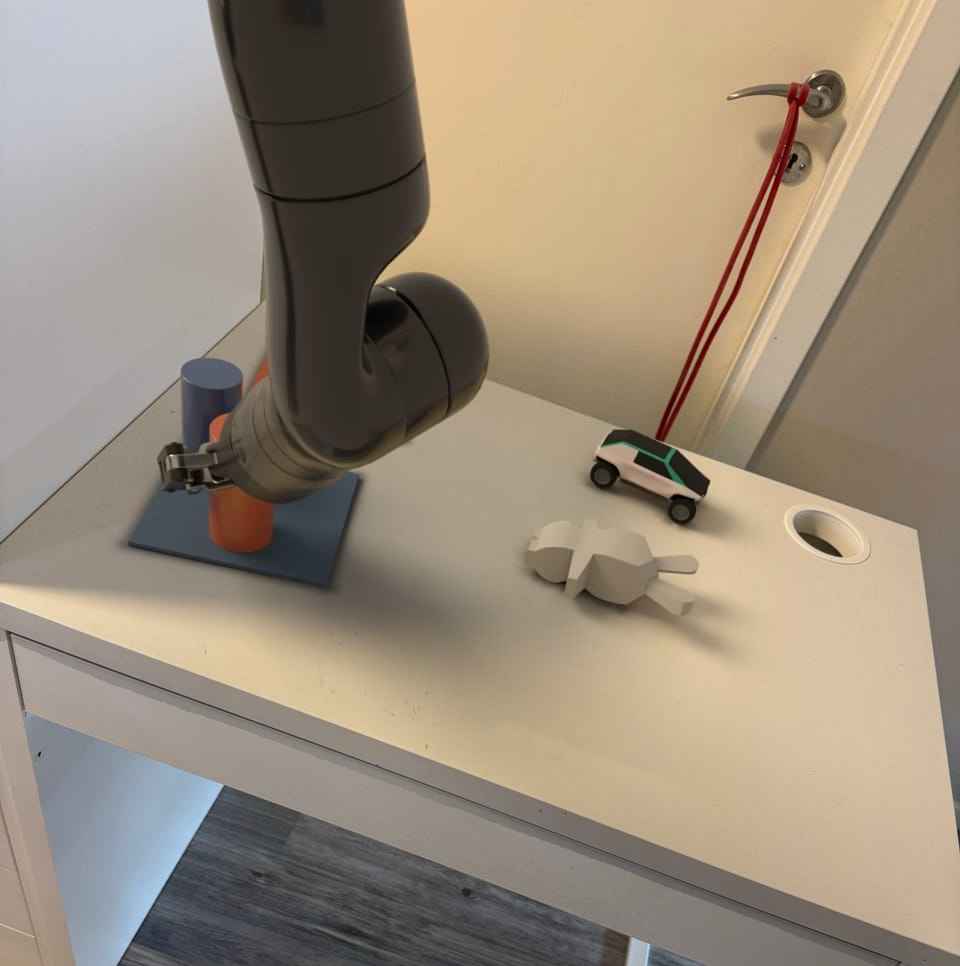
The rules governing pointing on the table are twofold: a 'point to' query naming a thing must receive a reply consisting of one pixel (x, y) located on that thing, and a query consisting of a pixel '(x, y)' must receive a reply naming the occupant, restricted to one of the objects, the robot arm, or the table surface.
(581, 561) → the bunny figurine
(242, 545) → the terracotta canister
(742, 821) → the table surface
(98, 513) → the table surface
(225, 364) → the blue canister
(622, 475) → the toy car
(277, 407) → the robot arm
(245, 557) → the blue mat
